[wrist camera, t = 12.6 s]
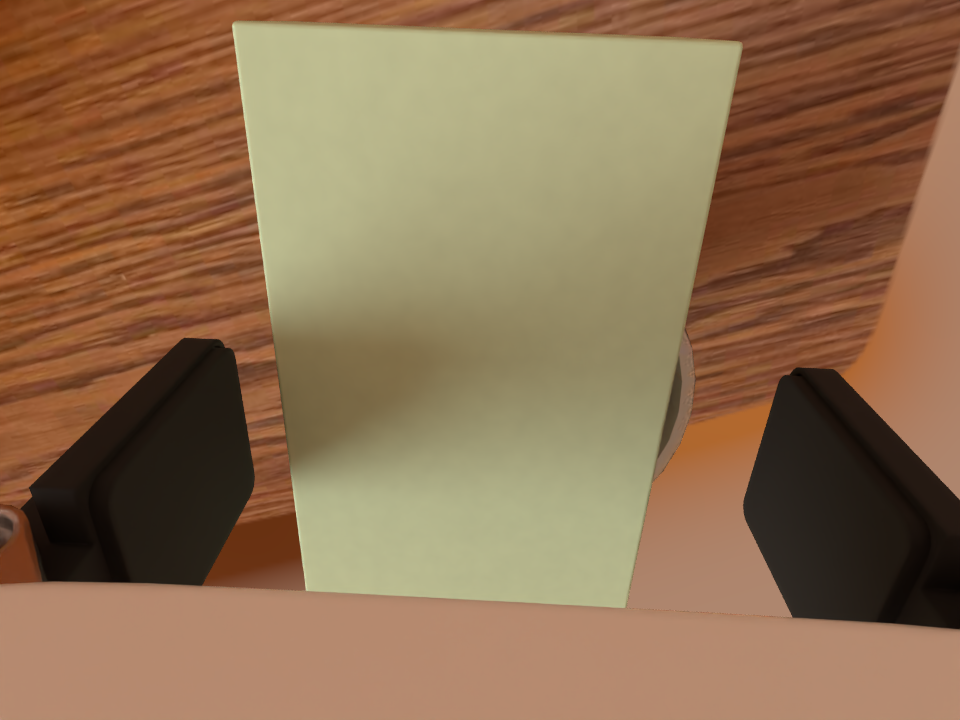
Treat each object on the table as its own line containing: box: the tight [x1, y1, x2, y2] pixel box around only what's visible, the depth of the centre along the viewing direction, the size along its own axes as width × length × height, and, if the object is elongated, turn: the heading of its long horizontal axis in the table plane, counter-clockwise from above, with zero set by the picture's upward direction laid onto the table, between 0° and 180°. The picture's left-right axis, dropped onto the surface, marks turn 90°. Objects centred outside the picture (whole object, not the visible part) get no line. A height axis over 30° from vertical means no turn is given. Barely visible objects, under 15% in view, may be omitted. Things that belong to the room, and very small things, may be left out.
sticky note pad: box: [232, 21, 743, 608], centre depth 12 cm, size 12×7×3 cm, turn 178°
